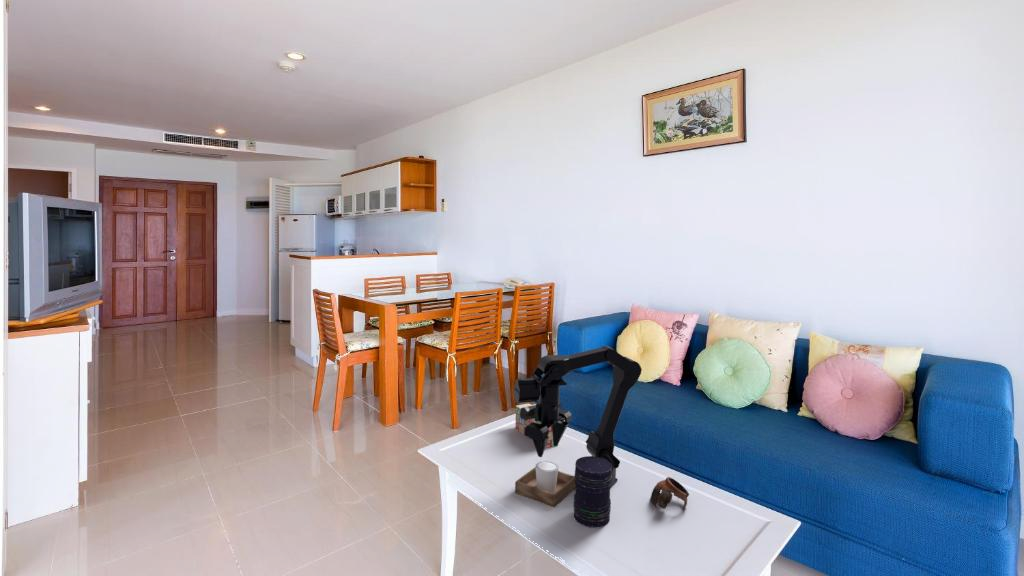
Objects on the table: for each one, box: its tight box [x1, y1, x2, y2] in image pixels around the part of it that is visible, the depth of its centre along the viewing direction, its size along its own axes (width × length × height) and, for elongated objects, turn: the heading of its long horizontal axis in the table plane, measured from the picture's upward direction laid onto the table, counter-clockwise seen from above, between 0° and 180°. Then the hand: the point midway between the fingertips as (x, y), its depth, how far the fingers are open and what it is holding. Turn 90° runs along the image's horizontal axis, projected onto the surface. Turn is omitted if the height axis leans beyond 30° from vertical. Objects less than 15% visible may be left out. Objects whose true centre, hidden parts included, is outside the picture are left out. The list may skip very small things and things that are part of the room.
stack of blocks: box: [515, 402, 559, 450], centre depth 185 cm, size 21×6×12 cm, turn 29°
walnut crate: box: [514, 467, 576, 508], centre depth 147 cm, size 13×13×4 cm
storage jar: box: [573, 455, 612, 529], centre depth 133 cm, size 10×10×15 cm
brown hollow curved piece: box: [649, 476, 690, 510], centre depth 139 cm, size 12×10×8 cm
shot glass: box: [534, 460, 559, 493], centre depth 146 cm, size 7×7×7 cm
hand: (547, 451), depth 146 cm, fingers open, 9 cm apart
